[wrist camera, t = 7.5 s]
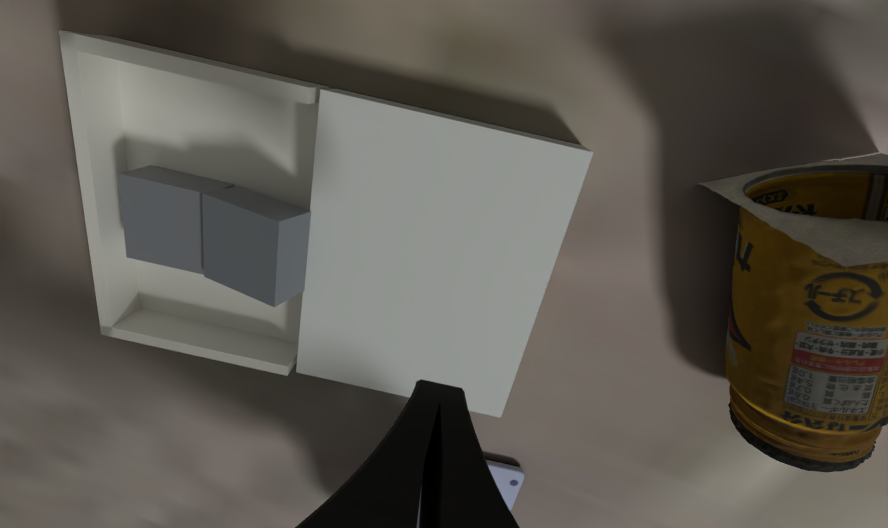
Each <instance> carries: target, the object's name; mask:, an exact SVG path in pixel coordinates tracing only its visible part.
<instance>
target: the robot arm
mask: <svg viewBox="0 0 888 528" xmlns="http://www.w3.org/2000/svg"><path fill="white" fill-rule="evenodd" d="M523 480H524V471H523V469H521V468H520V467H517V466H512V465H508V464H503V463H499V462H494V461H489V460H485V457H484V455H483V452H482V450H481V447H480V444H479V442H478V439H477V436H476V433H475V430H474V427H473V424H472V421H471V417H470V414H469V410H468V407H467V402H466V398H465V392H464V391H463V389H462V388H459V387H455V386H450V385H445V384H441V383H436V382H431V381H427V380H422V379H420V380H418V381H416V384H415V388H414V390H413V392H412V395H411V397H410V399H409V401H408V402H407V404H406V406H405V408H404V409H403V411H402V413H401V414H400V416H399V417H398V419H397V420H396V422H395V423H394V425H393V426H392V428H391V429H390V431H389V432H388V433H387V435H386V436H385V437H384V439H383V440H382V441H381V442H380V444H379V445H378V446H377V448H376V449H375V450H374V451H373V453H372V454H371V455H370V456H369V457H368V459H367V460H366V461H365V462H364V463H363V464H362V465H361V467H360V468H359V469H358V470H357V471H356V472H355V473H354V474H353V475H352V476H351V477H350V478H349V479H348V480H347V481H346V482H345V483H344V484H343V485H342V486H341V487H340V488H339V489H338V490H337V491H336V492H335V493H334V494H333V495H332V496H331V497H330V498H329V499H328V500H327V501H326V502H325V503H324V504H322V505H321V506H320V507H319V508H318V509H317V510H315V511H314V512H313V513H312V514H311V515H310V516H308V517H307V518H306V519H305V520H304V521H302V522H301V523H300V524H299V525H298V526H297V527H295V528H519V526H518V524H517V522H516V521H515V519H514V517H513V515H512V514H511V512H510V511H511V509H512V507H513V504H514V502H515V499H516V497H517V494H518V492H519V489H520V487H521V485H522V482H523Z"/></svg>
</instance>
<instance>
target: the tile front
mask: <svg viewBox="0 0 888 528" xmlns="http://www.w3.org/2000/svg"><path fill="white" fill-rule="evenodd" d="M202 209H203V254H204V277H206V278H208V279H210V280H213V281H215V282H217V283H220V284H222V285H224V286H226V287H229V288H231V289H233V290H236V291H238V292H240V293H242V294H245V295H247V296H249V297H252V298H254V299H256V300H258V301H261V302H263V303H265V304H268V305H270V306H272V307H276V306H278V305H280V304H281V303H283V302H285V301H287V300H289V299H290V298H292V297H294V296H296V295H297V294H299V293H301V292H303V291H304V288H305V277H306V265H307V254H308V242H309V231H310V219H311V211H309V210H306V209H303V208H300V207H297V206H295V205H292V204H289V203H286V202H283V201H281V200H278V199H275V198H272V197H269V196H266V195H264V194H261V193H258V192H255V191H252V190H250V189H247V188H244V187H241V186H236V187H231V188H226V189H220V190H215V191H210V192H205V193H202Z"/></svg>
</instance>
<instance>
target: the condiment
mask: <svg viewBox="0 0 888 528" xmlns="http://www.w3.org/2000/svg"><path fill="white" fill-rule="evenodd" d="M698 185H703V186H705V187H708V188H709V189H710V190H711V191H714V192H717V193H719V194H720V195H722V196H723V197H725V198H727V199H729V200H730V201H732V202H733V203H736V204H737V205H740V208H739V222H738V232H737V239H736V245H735V256H734V261H735V265H734V266H733V275H732V279H733V283H732V291H731V295H730V313H729V319H728V330H727V337H726V350H725V371H726V376H727V379H728V381H729V382H730V390H729V392H730V396H731V398H730V403H729V405H728V406H729V408H730V411H729V412H730V415H731V420H732V422H733V424H734V425H735V428H736V429H737V430H738V431H739V433H740V434H741V435H742V437H743V438H744V439H745V440H746V441H747V442H748V443H749V444H751V445H753V446H754V447H756V448H757V449H758V450H760V451H761V452H763V453H764V454H766V455H768V456H769V457H771V458H773V459H775V460H777V461H779V462H782V463H785V464H788V465H791V466H794V467H797V468H800V469H804V470H807V471H819V472H834V471H844V470H849V469H853V468H855V467H857V466H858V465H859V464H860V463H863V462H864V460H865V459H868V458H869V457H871V455H872V452H873V451H874V448H875V446H874V444H875V443H876V441H875V440H876V439H877V437H878V436H879V434H880V432H881V429H882V426H885V425H887V424H888V155H886V154H882V153H880V154H875V155H870V156H865V157H859V158H851V159H845V160H841V161H839V160H833V161H821V162H815V163H808V164H804V165H803V164H802V165H796V166H790V167H780V168H774V169H769V170H765V171H757V172H752V173H748V174H742V175H740V176H736V177H727V178H724V179H719V180H713V181H709V182H708V181H705V182H702V183H698Z"/></svg>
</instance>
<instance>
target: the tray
mask: <svg viewBox="0 0 888 528" xmlns="http://www.w3.org/2000/svg"><path fill="white" fill-rule="evenodd" d="M58 31H59V38H60V45H61V52H62V59H63V66H64V73H65V80H66V87H67V95H68V102H69V109H70V116H71V123H72V130H73V137H74V144H75V151H76V158H77V166H78V173H79V180H80V187H81V194H82V201H83V208H84V215H85V222H86V230H87V237H88V244H89V251H90V258H91V265H92V272H93V279H94V286H95V294H96V301H97V308H98V315H99V322H100V329H101V335H105V336H109V337H114V338H118V339H123V340H127V341H132V342H136V343H141V344H145V345H150V346H154V347H159V348H164V349H168V350H173V351H177V352H182V353H186V354H191V355H195V356H200V357H204V358H209V359H213V360H218V361H222V362H227V363H231V364H236V365H240V366H245V367H249V368H254V369H258V370H263V371H267V372H272V373H276V374H281V375H285V376H288V374H289V373H290V371H291V369H292V368H293V366H294V365H295V363H296V362H297V356H298V344H299V332H300V321H301V309H302V297H303V292H301V293H299V294H297V295H296V296H294V297H292V298H290V299H289V300H287V301H285V302H283V303H281V304H280V305H278V306H276V307H272V306H270V305H268V304H265V303H263V302H261V301H258V300H256V299H254V298H252V297H249V296H247V295H245V294H242V293H240V292H238V291H236V290H233V289H231V288H229V287H226V286H224V285H222V284H220V283H217V282H215V281H213V280H210V279H208V278H206V277H204V275H203V274H198V273H194V272H190V271H185V270H181V269H176V268H172V267H167V266H163V265H158V264H154V263H149V262H145V261H141V260H136V259H132V258H127V257H126V247H125V237H124V227H123V217H122V208H121V198H120V188H119V178H118V173H122V172H126V171H130V170H134V169H137V168H141V167H145V166H149V165H153V166H158V167H162V168H166V169H171V170H175V171H179V172H184V173H188V174H193V175H197V176H201V177H206V178H210V179H215V180H219V181H223V182H228V183H232V184H234V187H236V186H241V187H244V188H247V189H250V190H252V191H255V192H258V193H261V194H264V195H266V196H269V197H272V198H275V199H278V200H281V201H283V202H286V203H289V204H292V205H295V206H297V207H300V208H303V209H306V210H309V211H310V204H311V192H312V181H313V169H314V157H315V146H316V134H317V122H318V111H319V99H320V89H329V87H327V86H323V85H319V84H315V83H310V82H306V81H302V80H297V79H293V78H289V77H284V76H280V75H276V74H271V73H267V72H263V71H258V70H254V69H250V68H245V67H241V66H237V65H232V64H228V63H224V62H219V61H215V60H211V59H206V58H202V57H198V56H193V55H189V54H185V53H180V52H176V51H172V50H167V49H163V48H159V47H154V46H150V45H146V44H141V43H137V42H133V41H128V40H124V39H120V38H116V37H111V36H105V35H97V34H89V33H80V32H72V31H64V30H58Z"/></svg>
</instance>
